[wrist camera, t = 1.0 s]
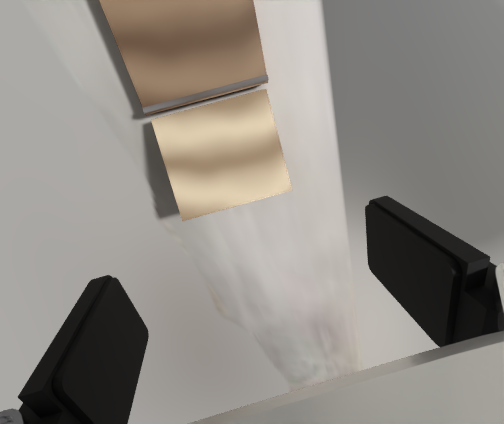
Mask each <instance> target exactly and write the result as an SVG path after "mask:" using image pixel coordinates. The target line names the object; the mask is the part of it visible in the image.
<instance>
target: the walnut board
mask: <svg viewBox="0 0 504 424" xmlns="http://www.w3.org/2000/svg"><path fill="white" fill-rule="evenodd" d="M99 1H100V4H101V6H102V9H103V11H104V14H105V16H106V18H107V21H108V23H109V26H110V28H111V31H112V33H113V36H114V38H115V41H116V43H117V46H118V48H119V50H120V53H121V55H122V58H123V60H124V63H125V65H126V68H127V70H128V73H129V75H130V78H131V80H132V82H133V85H134V87H135V90H136V92H137V95H138V97H139V100H140V102H141V105H142V107H143V108H142V110H143V112H144V113H145V114H146V115H149V114H153V113H156V112H160V111H164V110H168V109H171V108H175V107H179V106H183V105H186V104H190V103H194V102H198V101H201V100H205V99H209V98H213V97H216V96H220V95H224V94H228V93H231V92H235V91H239V90H243V89H246V88H250V87H254V86H257V85H261V84H265V83H268V75H267V74H266V68H265V63H264V57H263V52H262V46H261V41H260V35H259V30H258V24H257V18H256V13H255V7H254V2H253V0H99Z"/></svg>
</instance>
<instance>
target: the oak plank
mask: <svg viewBox="0 0 504 424" xmlns="http://www.w3.org/2000/svg"><path fill="white" fill-rule="evenodd" d="M151 122H152V125H153V128H154V131H155V135H156V138H157V141H158V144H159V147H160V151H161V154H162V157H163V160H164V164H165V167H166V170H167V173H168V176H169V180H170V183H171V186H172V189H173V192H174V196H175V199H176V202H177V205H178V209H179V212H180V215H181V218H182V221H185V220H189V219H192V218H196V217H199V216H203V215H206V214H210V213H213V212H217V211H221V210H224V209H228V208H231V207H235V206H238V205H242V204H245V203H249V202H253V201H256V200H260V199H263V198H267V197H270V196H274V195H278V194H281V193H285V192H288V191H292V187H291V183H290V179H289V175H288V171H287V167H286V164H285V160H284V156H283V152H282V148H281V144H280V140H279V136H278V133H277V129H276V125H275V121H274V117H273V113H272V109H271V105H270V102H269V98H268V94H267V90H266V89H263V90H260V91H256V92H252V93H248V94H245V95H241V96H237V97H234V98H230V99H226V100H222V101H219V102H215V103H211V104H207V105H204V106H200V107H196V108H193V109H189V110H185V111H181V112H178V113H174V114H170V115H166V116H163V117H159V118H155V119H151Z"/></svg>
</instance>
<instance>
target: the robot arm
mask: <svg viewBox="0 0 504 424" xmlns="http://www.w3.org/2000/svg"><path fill="white" fill-rule="evenodd" d="M365 215H366V233H367V254H368V265H369V268H370V270H371V272H372V273H373V274H374V275H375V276H376V277H377V279H378V280H379V281H380V282H381V283H382V284H383V285H384V286H385V288H386V289H387V290H388V291H389V292H390V293H391V294H392V295H393V297H394V298H395V299H396V300H397V301H398V302H399V303H400V304H401V306H402V307H403V308H404V309H405V310H406V311H407V312H408V313H409V314H410V316H411V317H412V318H413V319H414V320H415V321H416V322H417V323H418V325H419V326H420V327H421V328H422V329H423V330H424V331H425V332H426V334H427V335H428V336H429V337H430V338H431V339H432V340H433V341H434V342H435V343H436V344H437V345H438V346H439V347H440V348H436V349H433V350H429V351H426V352H422V353H419V354H415V355H413V356H409V357H406V358H402V359H399V360H396V361H392V362H389V363H386V364H382V365H379V366H375V367H372V368H369V369H365V370H362V371H359V372H355V373H352V374H349V375H345V376H342V377H339V378H335V379H332V380H329V381H325V382H322V383H319V384H315V385H312V386H309V387H306V388H302V389H299V390H296V391H293V392H289V393H286V394H283V395H280V396H276V397H273V398H270V399H266V400H263V401H260V402H257V403H253V404H250V405H247V406H244V407H240V408H237V409H234V410H231V411H227V412H224V413H221V414H217V415H214V416H211V417H208V418H205V419H201V420H198V421H195V422H192V423H189V424H504V262H502V263H500V264H499V265H498V266H496V265H494V264H492V263H491V262H489V261H490V256H488V255H486V254H484V253H483V252H481V251H479V250H478V249H476V248H474V247H473V246H471V245H469V244H468V243H466V242H464V241H463V240H461V239H459V238H457V237H456V236H454V235H452V234H451V233H449V232H447V231H446V230H444V229H442V228H441V227H439V226H437V225H436V224H434V223H432V222H430V221H429V220H427V219H426V218H424V217H422V216H420V215H419V214H417V213H415V212H414V211H412V210H410V209H409V208H407V207H405V206H403V205H402V204H400V203H399V202H397V201H395V200H394V199H392V198H390V197H388V196H383V197H380V198H376V199H373V200H370V201H369V205H367V206H366V207H365ZM147 341H148V329H147V327H146V325H145V324H144V322H143V320H142V319H141V317H140V315H139V314H138V312H137V311H136V309H135V307H134V305H133V304H132V302H131V300H130V299H129V297H128V295H127V293H126V292H125V290H124V289H123V287H122V285H121V284H120V282H119V280H118V279H117V278H112V277H111V276H110V275H107V276H103V277H99V278H96V279H93V280H91V281H90V282H89V283H88V285H87V287H86V288H85V290H84V292H83V293H82V295H81V296H80V298H79V299H78V301H77V303H76V304H75V306H74V308H73V309H72V311H71V312H70V314H69V315H68V317H67V319H66V320H65V322H64V324H63V325H62V327H61V328H60V330H59V332H58V333H57V335H56V336H55V338H54V340H53V341H52V343H51V344H50V346H49V348H48V349H47V351H46V352H45V354H44V356H43V357H42V359H41V361H40V362H39V364H38V365H37V367H36V369H35V370H34V372H33V373H32V375H31V376H30V378H29V380H28V381H27V383H26V384H25V386H24V388H23V389H22V391H21V393H20V394H19V396H18V398H19V399H20V400H21V401H22V402H23V404H22V406H21V407H20V409H19V410H16V409H8V410H4V411H2V412H0V424H127V423H128V419H129V415H130V411H131V407H132V403H133V399H134V395H135V390H136V386H137V383H138V378H139V374H140V370H141V366H142V362H143V358H144V354H145V350H146V346H147Z"/></svg>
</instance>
